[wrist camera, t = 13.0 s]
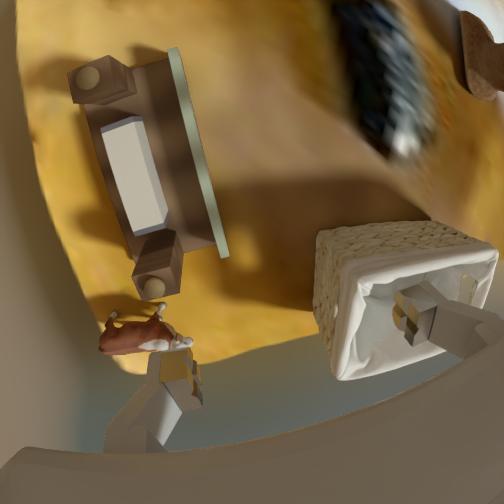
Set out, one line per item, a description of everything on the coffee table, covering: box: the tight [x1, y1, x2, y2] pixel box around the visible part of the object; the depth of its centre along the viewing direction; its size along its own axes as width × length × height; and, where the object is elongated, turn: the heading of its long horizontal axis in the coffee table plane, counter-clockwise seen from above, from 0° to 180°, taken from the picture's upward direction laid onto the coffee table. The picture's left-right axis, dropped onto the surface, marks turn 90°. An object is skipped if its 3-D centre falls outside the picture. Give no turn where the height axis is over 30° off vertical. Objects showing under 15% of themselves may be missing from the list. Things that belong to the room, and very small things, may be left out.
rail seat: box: [67, 47, 229, 302], centre depth 28 cm, size 23×12×11 cm, turn 12°
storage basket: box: [313, 221, 499, 380], centre depth 37 cm, size 24×16×15 cm
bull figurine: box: [99, 302, 194, 355], centre depth 38 cm, size 4×13×8 cm, turn 94°
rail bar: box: [100, 116, 170, 237], centre depth 29 cm, size 12×4×4 cm, turn 12°
